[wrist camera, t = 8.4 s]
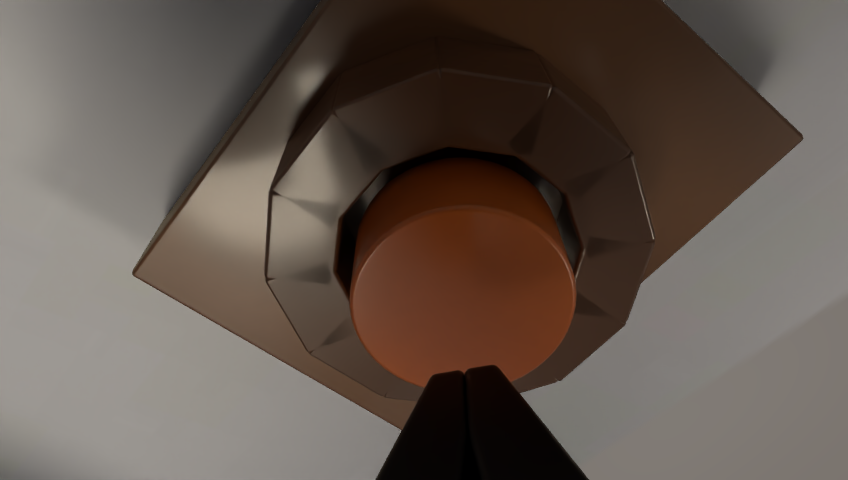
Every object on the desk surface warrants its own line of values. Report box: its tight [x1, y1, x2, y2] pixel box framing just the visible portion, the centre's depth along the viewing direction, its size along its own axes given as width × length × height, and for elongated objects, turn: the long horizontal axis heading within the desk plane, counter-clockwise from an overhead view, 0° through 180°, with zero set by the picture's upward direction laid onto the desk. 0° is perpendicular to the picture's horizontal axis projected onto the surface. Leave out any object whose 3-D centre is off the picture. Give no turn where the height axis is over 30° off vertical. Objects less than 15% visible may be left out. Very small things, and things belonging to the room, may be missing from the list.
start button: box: [349, 157, 576, 388], centre depth 12 cm, size 3×3×2 cm
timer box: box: [132, 0, 803, 430], centre depth 14 cm, size 10×8×4 cm
